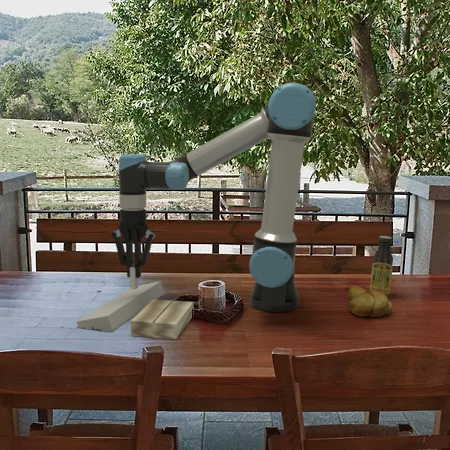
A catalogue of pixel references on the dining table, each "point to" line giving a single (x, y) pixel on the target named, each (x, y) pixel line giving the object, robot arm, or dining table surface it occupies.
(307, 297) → the dining table surface
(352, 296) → the bread roll
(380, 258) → the sauce bottle
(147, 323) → the floorboards
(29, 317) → the dining table surface
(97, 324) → the decorative molding
